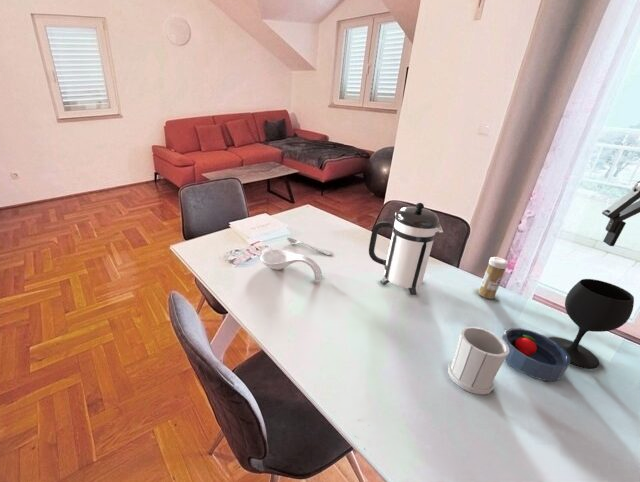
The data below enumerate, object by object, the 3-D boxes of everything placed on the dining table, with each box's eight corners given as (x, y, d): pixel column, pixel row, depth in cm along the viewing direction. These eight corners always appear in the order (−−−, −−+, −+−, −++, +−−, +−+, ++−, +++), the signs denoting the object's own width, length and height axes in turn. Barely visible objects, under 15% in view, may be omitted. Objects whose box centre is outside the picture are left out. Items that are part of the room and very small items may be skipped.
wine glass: (543, 353, 81) (575, 290, 73) (544, 332, 88) (574, 271, 80) (601, 377, 75) (644, 310, 67) (597, 351, 82) (635, 288, 74)
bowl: (547, 350, 82) (555, 336, 80) (572, 389, 72) (581, 373, 70) (491, 337, 86) (497, 323, 84) (507, 372, 76) (514, 357, 74)
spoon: (288, 239, 140) (288, 236, 139) (332, 252, 129) (333, 249, 128) (283, 242, 137) (284, 239, 136) (329, 257, 126) (329, 253, 125)
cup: (446, 353, 81) (459, 317, 76) (489, 368, 77) (506, 331, 72) (447, 384, 73) (461, 345, 68) (495, 403, 68) (514, 363, 64)
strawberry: (531, 362, 79) (537, 344, 81) (535, 357, 76) (540, 339, 78) (510, 353, 82) (516, 336, 83) (513, 348, 79) (519, 330, 81)
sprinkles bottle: (491, 301, 100) (505, 265, 95) (475, 294, 104) (488, 259, 99) (496, 296, 103) (510, 260, 98) (480, 289, 106) (493, 254, 101)
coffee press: (409, 269, 118) (428, 193, 106) (434, 295, 103) (459, 211, 91) (363, 269, 117) (377, 194, 105) (382, 296, 103) (401, 212, 91)
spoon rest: (254, 267, 119) (254, 250, 116) (269, 254, 128) (270, 238, 125) (313, 288, 106) (315, 270, 104) (325, 272, 115) (327, 256, 113)
